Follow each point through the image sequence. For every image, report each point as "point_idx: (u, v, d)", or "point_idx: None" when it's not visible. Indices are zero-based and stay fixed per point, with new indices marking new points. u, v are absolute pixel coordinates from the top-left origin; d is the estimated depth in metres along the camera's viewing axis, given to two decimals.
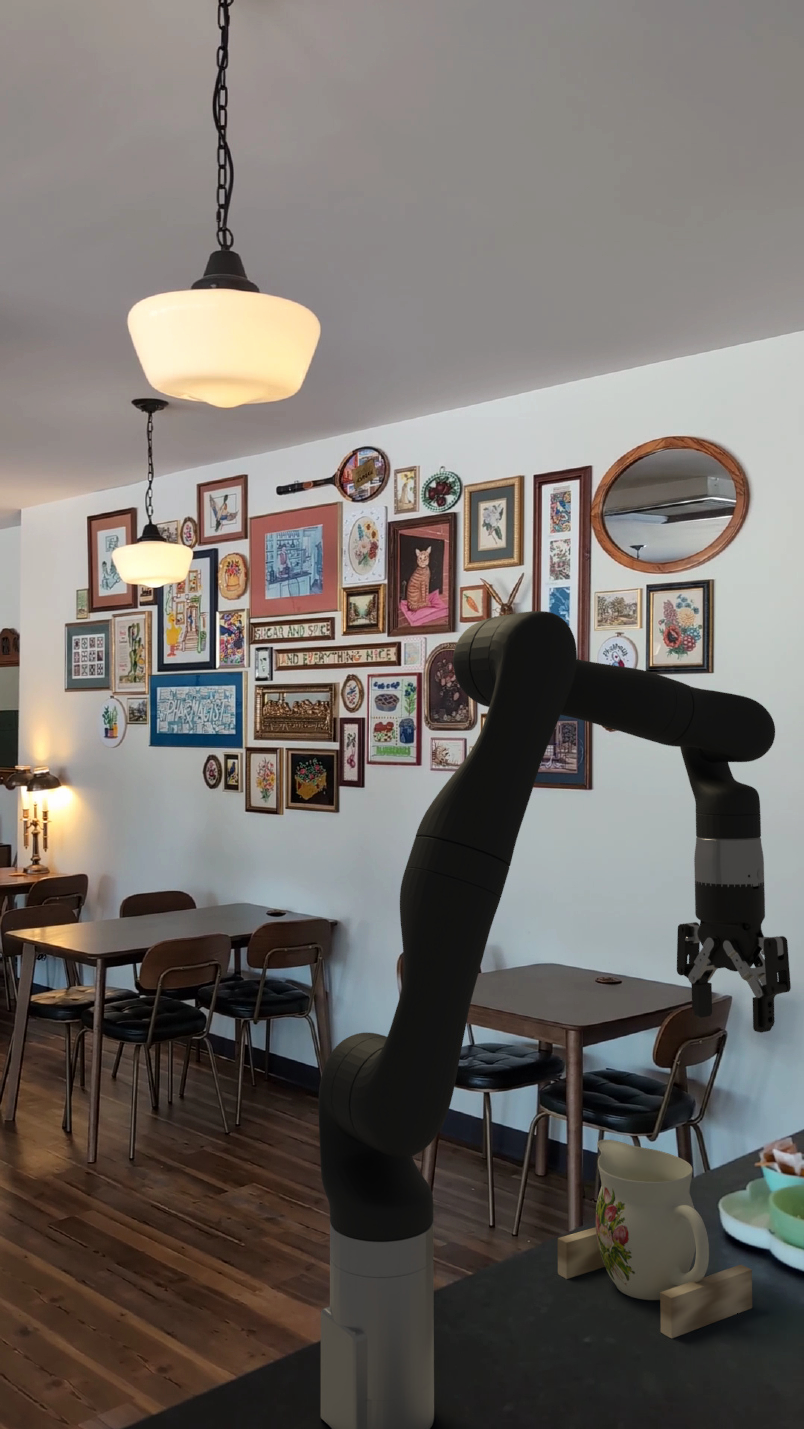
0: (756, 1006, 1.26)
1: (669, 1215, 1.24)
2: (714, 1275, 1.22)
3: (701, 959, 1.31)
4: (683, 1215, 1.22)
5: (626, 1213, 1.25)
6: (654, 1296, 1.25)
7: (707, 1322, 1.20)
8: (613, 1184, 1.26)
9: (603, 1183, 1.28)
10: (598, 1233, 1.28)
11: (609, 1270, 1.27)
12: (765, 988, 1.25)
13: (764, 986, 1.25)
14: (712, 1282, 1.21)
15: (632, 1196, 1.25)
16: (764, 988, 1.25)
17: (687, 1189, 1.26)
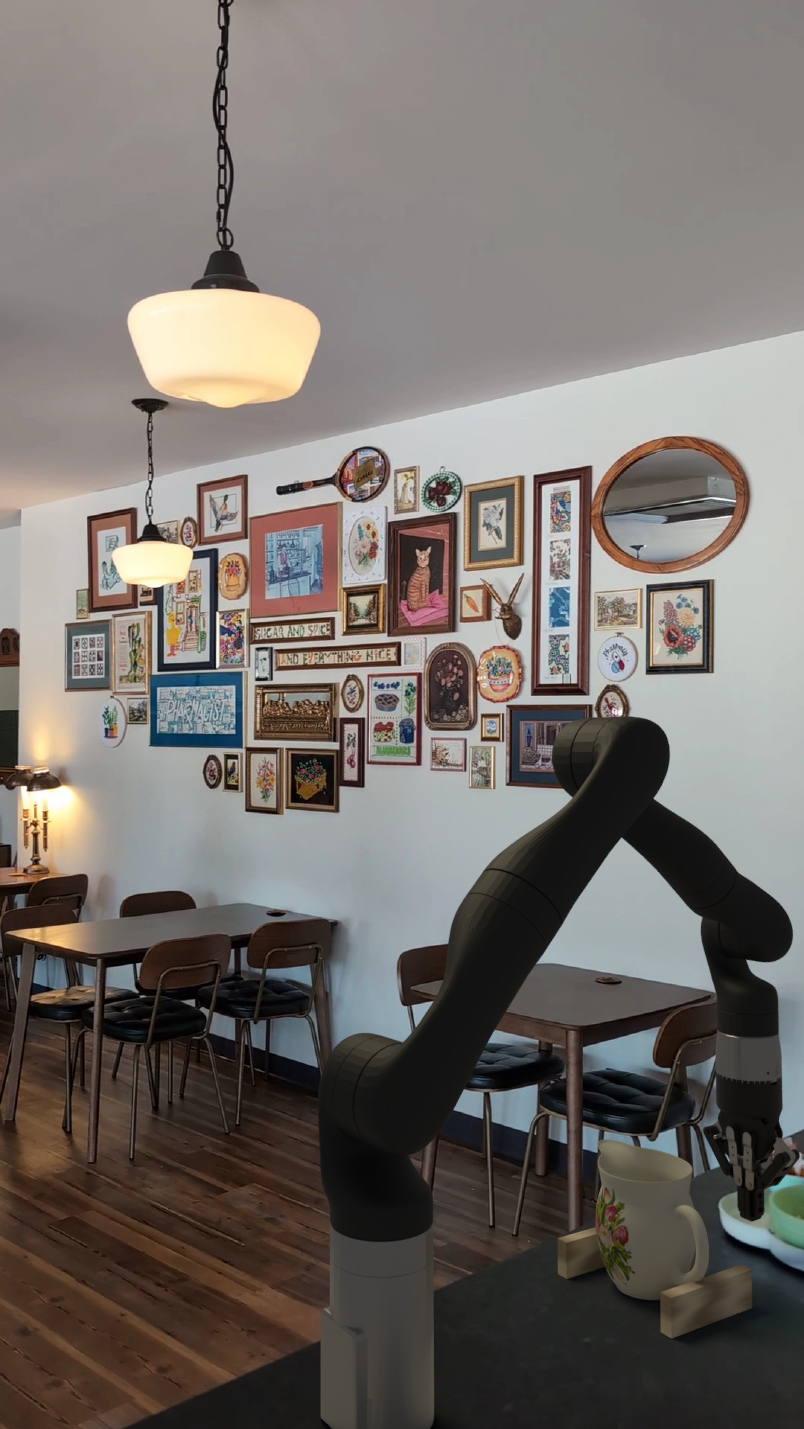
0: (747, 1197, 1.36)
1: (669, 1215, 1.24)
2: (714, 1275, 1.22)
3: (733, 1153, 1.37)
4: (683, 1215, 1.22)
5: (626, 1213, 1.25)
6: (654, 1296, 1.25)
7: (707, 1322, 1.20)
8: (613, 1184, 1.26)
9: (603, 1183, 1.28)
10: (598, 1233, 1.28)
11: (609, 1270, 1.27)
12: (756, 1181, 1.35)
13: None
14: (712, 1282, 1.21)
15: (632, 1196, 1.25)
16: None
17: (687, 1189, 1.26)
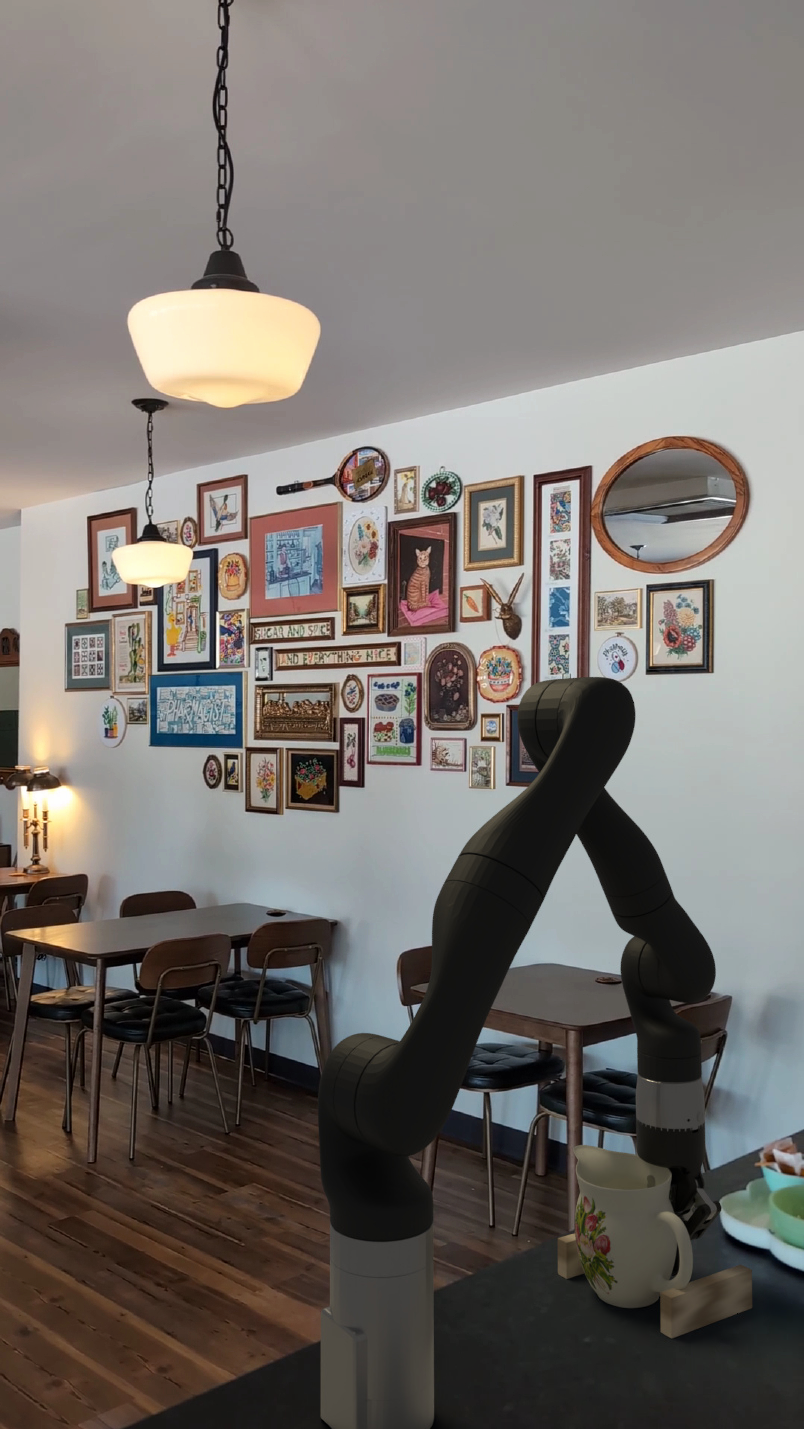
0: None
1: (650, 1222, 1.22)
2: (714, 1275, 1.22)
3: None
4: (665, 1222, 1.20)
5: (607, 1222, 1.23)
6: (637, 1304, 1.23)
7: (707, 1322, 1.20)
8: (593, 1193, 1.24)
9: (582, 1192, 1.26)
10: (578, 1243, 1.26)
11: (590, 1280, 1.25)
12: None
13: None
14: (712, 1282, 1.21)
15: (613, 1205, 1.23)
16: None
17: (667, 1194, 1.25)
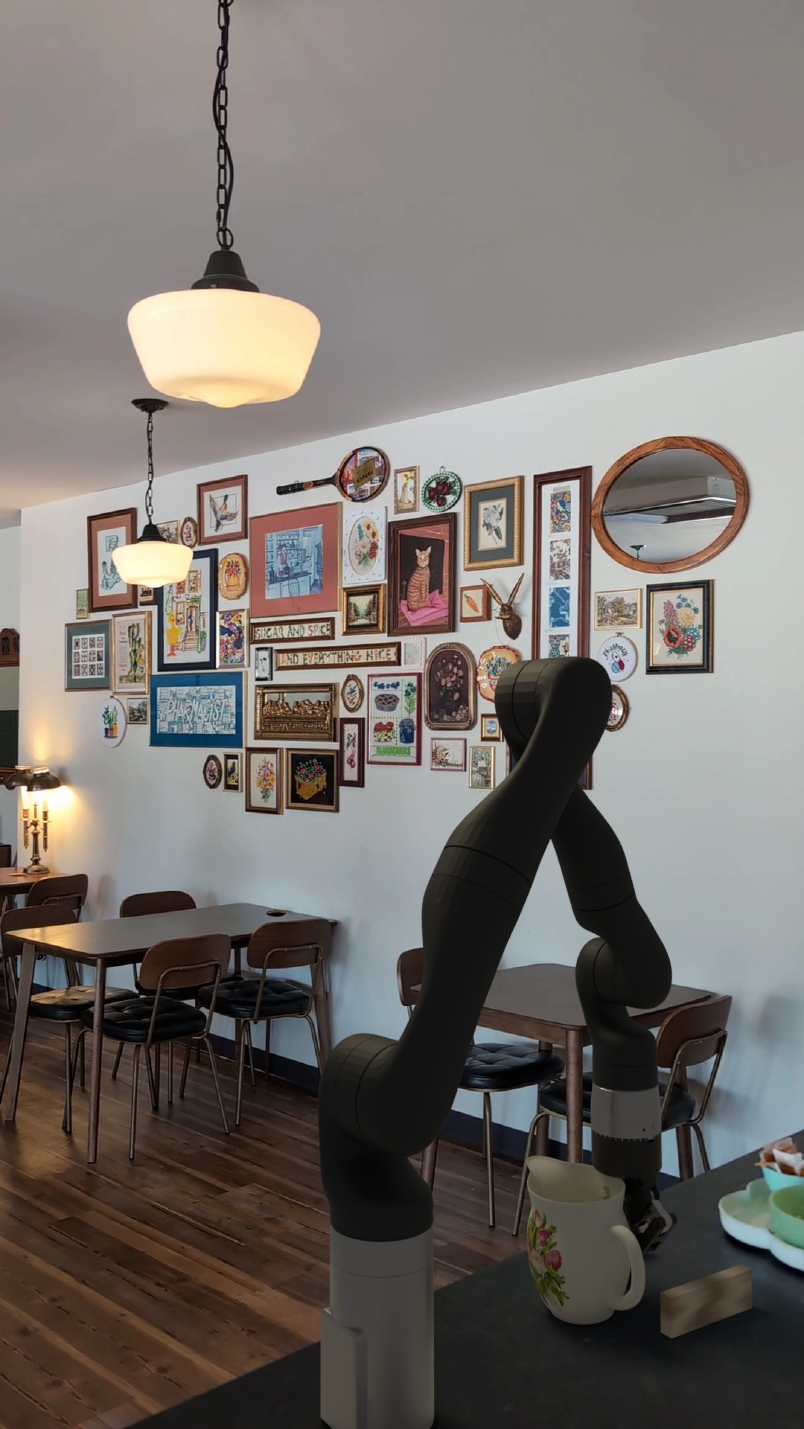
0: None
1: (602, 1237, 1.18)
2: (714, 1275, 1.22)
3: None
4: (617, 1236, 1.17)
5: (558, 1237, 1.19)
6: (590, 1320, 1.20)
7: (707, 1322, 1.20)
8: (543, 1206, 1.20)
9: (533, 1205, 1.22)
10: (530, 1257, 1.22)
11: (542, 1295, 1.21)
12: None
13: None
14: (712, 1282, 1.21)
15: (563, 1219, 1.19)
16: None
17: (620, 1207, 1.21)
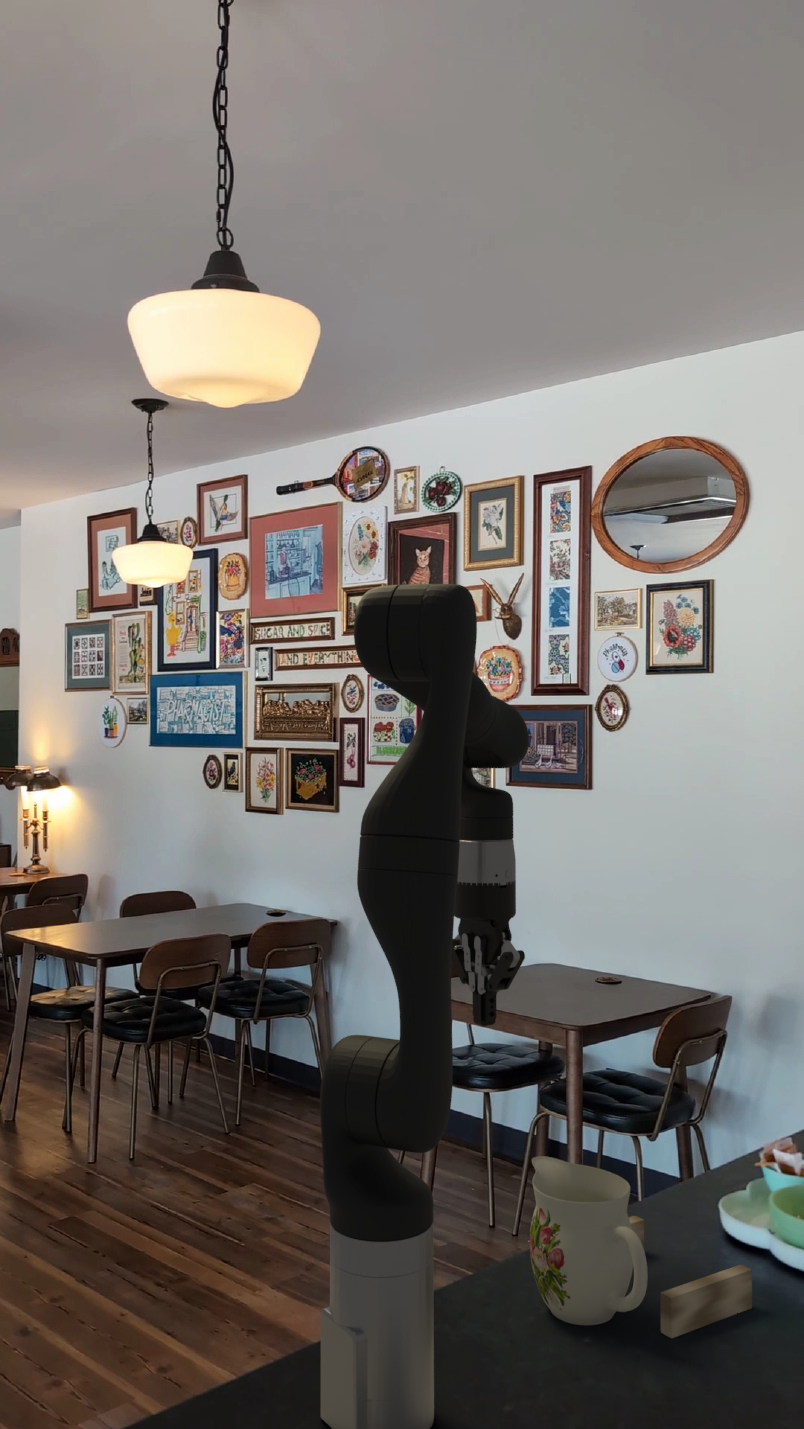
0: (479, 1002, 1.37)
1: (606, 1237, 1.19)
2: (714, 1275, 1.22)
3: (467, 960, 1.38)
4: (621, 1237, 1.17)
5: (562, 1236, 1.19)
6: (590, 1321, 1.20)
7: (707, 1322, 1.20)
8: (548, 1204, 1.21)
9: (538, 1203, 1.22)
10: (532, 1256, 1.22)
11: (543, 1294, 1.21)
12: (487, 985, 1.36)
13: None
14: (712, 1282, 1.21)
15: (568, 1218, 1.19)
16: (486, 985, 1.36)
17: (625, 1209, 1.21)
